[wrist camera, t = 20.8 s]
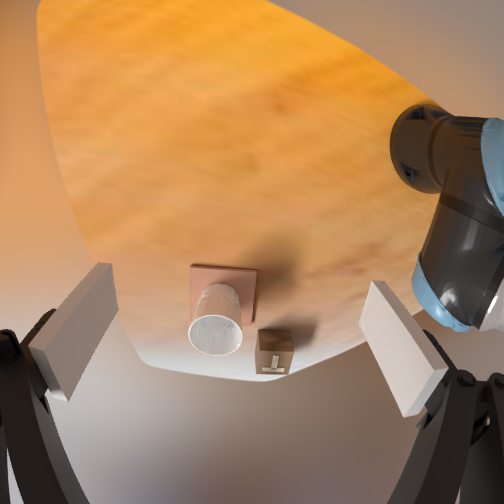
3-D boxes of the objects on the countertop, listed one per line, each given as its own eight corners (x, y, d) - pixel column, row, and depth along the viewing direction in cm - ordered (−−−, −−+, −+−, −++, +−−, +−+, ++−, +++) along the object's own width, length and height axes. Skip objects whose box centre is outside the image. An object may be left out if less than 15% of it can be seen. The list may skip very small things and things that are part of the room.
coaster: (256, 270, 49) (257, 272, 48) (250, 323, 53) (251, 325, 53) (190, 265, 48) (189, 267, 48) (191, 318, 53) (190, 321, 52)
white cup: (220, 325, 52) (216, 363, 43) (187, 298, 50) (177, 334, 41) (252, 300, 50) (254, 338, 41) (219, 270, 48) (214, 304, 39)
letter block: (290, 330, 55) (295, 352, 49) (285, 353, 57) (289, 375, 51) (258, 329, 54) (259, 351, 48) (255, 352, 56) (256, 374, 51)
